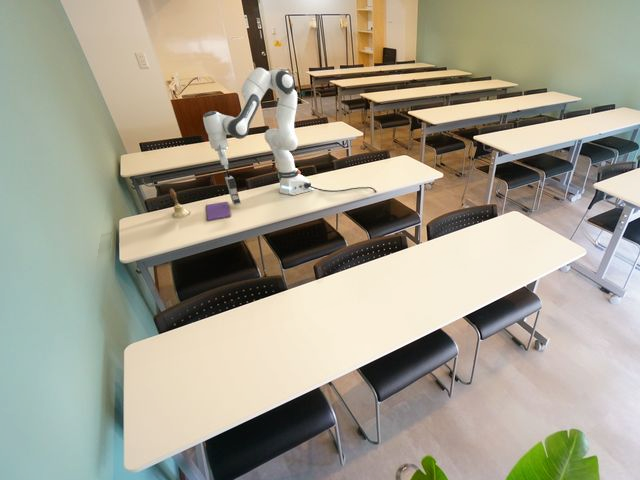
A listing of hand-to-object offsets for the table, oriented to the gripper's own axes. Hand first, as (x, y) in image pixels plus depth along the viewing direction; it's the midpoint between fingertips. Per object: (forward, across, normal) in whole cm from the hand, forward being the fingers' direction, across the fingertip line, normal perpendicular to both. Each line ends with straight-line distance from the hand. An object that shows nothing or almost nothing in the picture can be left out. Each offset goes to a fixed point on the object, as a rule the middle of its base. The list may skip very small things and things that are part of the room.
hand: (226, 168), depth 196 cm
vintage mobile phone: (+22, -1, 0) cm, 22 cm away
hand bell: (+25, +5, +31) cm, 40 cm away
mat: (+25, 0, +11) cm, 27 cm away
